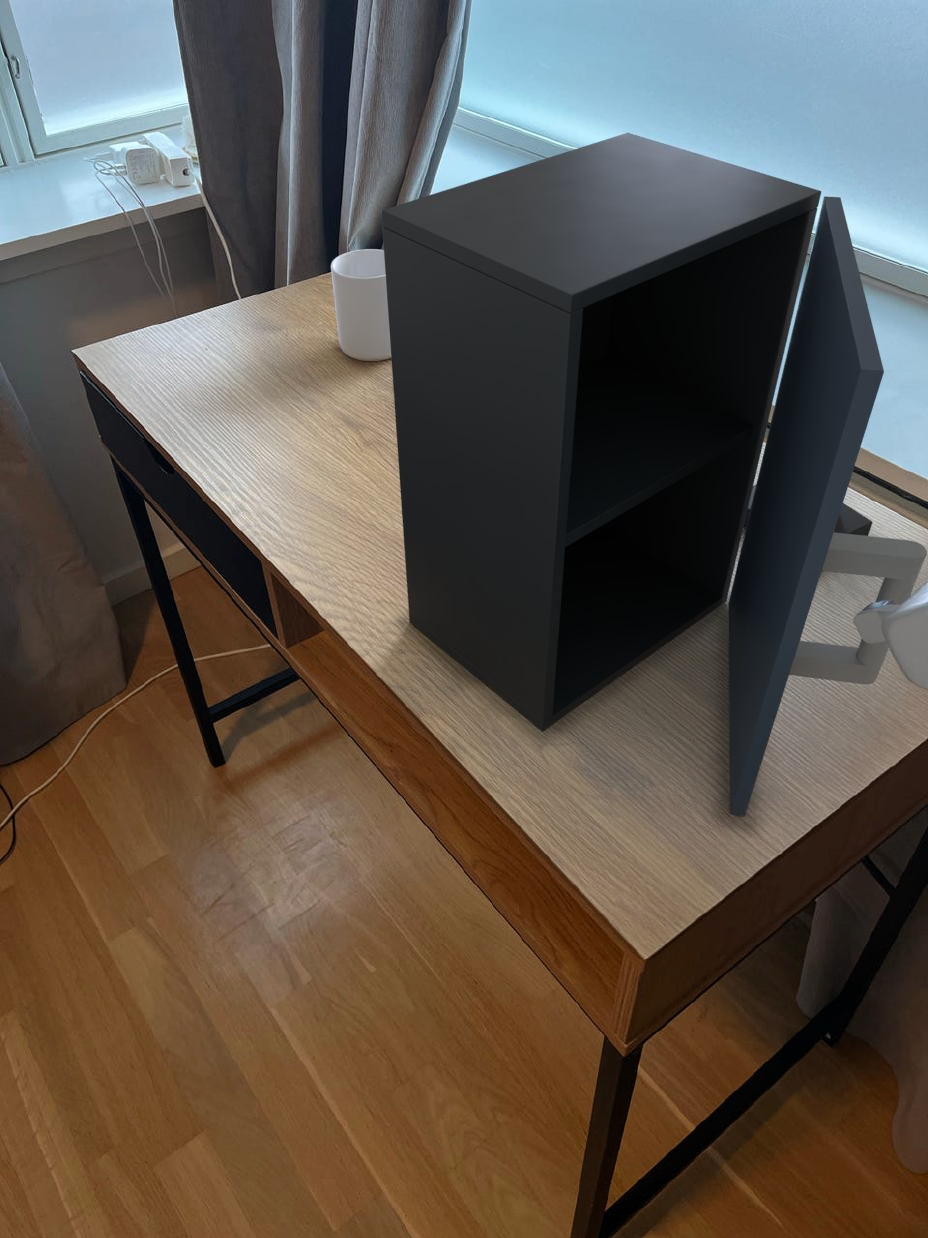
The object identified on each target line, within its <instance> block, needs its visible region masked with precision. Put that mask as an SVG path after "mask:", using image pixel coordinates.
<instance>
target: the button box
mask: <svg viewBox="0 0 928 1238" xmlns="http://www.w3.org/2000/svg"><path fill="white" fill-rule="evenodd" d="M755 488H756V484H753V489H752V493H751V497H750V502H749V506H748V510H747V514H746V519H745V523H744V527H743V528H745V529H746V526H747V522H748V518H749V513H750V509H751V505H752V501H753V496H754V492H755ZM873 523H874V522H873V521H872V520H871V519H870V518H868V517H866V516H865V515H863V514H862V513H860V512H858V511H856V510H855V509H853V507H850V506H849V505H847V504H846V503H845V502H843V504H842V508H841V511H840V514H839V517H838V520H837V524H836V527H835V530H834V533H844V534H853V535H863V536H869V534H870V531H871V529H872V526H873Z"/></svg>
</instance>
